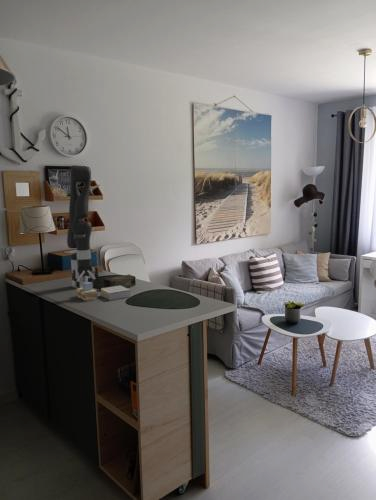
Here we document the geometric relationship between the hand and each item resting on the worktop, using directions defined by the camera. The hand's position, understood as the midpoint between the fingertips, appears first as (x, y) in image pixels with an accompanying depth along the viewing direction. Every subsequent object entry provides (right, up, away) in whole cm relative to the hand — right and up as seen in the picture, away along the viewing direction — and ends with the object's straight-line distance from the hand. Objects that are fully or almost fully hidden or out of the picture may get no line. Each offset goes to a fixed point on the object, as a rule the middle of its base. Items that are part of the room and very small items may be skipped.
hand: (86, 286), depth 225 cm
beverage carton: (+15, -3, +23) cm, 27 cm away
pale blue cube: (+2, -1, -3) cm, 4 cm away
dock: (+16, -5, +1) cm, 17 cm away
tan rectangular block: (+1, -6, -1) cm, 6 cm away
